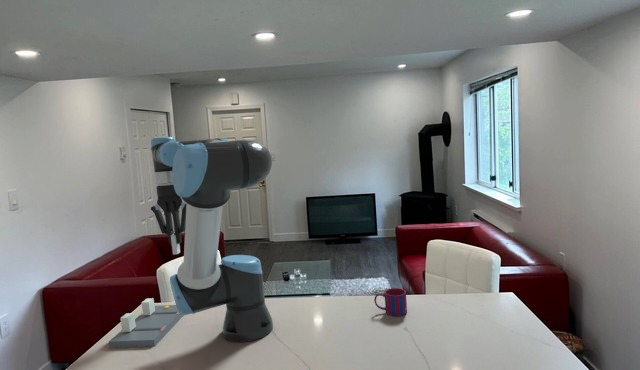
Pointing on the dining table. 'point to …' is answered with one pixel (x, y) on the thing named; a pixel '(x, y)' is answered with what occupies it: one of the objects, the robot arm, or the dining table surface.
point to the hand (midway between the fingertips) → (176, 253)
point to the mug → (394, 302)
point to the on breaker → (128, 322)
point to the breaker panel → (148, 328)
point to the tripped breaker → (148, 306)
